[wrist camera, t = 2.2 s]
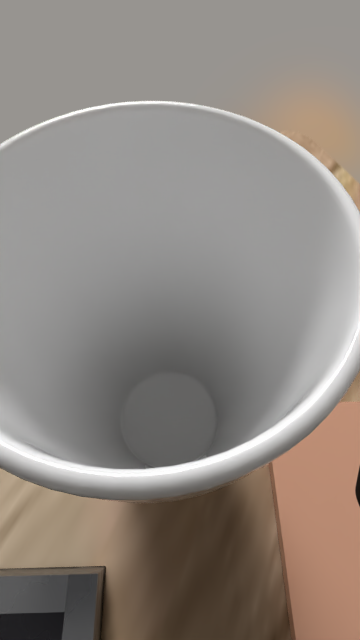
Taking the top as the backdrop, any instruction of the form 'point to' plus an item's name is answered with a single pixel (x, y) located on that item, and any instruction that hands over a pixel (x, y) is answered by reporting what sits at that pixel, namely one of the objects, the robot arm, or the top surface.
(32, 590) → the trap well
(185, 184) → the white cup
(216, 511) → the top surface
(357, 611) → the terracotta tile
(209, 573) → the top surface
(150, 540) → the top surface
